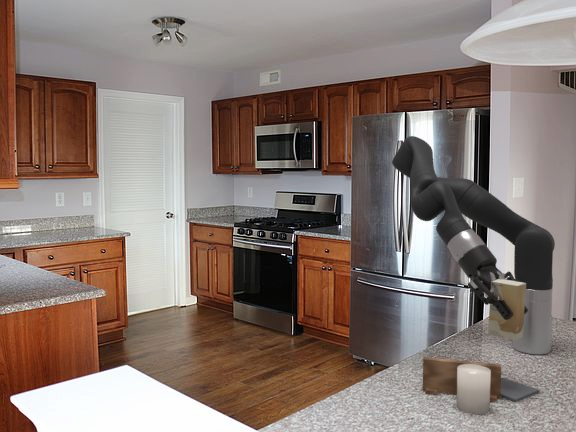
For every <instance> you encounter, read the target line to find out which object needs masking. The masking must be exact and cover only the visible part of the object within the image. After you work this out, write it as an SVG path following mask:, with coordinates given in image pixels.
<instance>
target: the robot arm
mask: <svg viewBox="0 0 576 432" xmlns="http://www.w3.org/2000/svg"><path fill="white" fill-rule="evenodd" d="M434 162H435V161H434V153H433V148H432V147H431V145H430V144H429V143H428V142H426V140H424V139H422V138H421V137H418V136H414V135H410V136H408V137H406V138H405V139H404V140H403V141H402V144H401V145H400V147H399V148H398V149H397V152H396V153H395V155H394V156H393V158H392V161H391V164H392V166H393V167H394V168H395V169H396V170H397V171H398V172H399V173H401V174H403V175H404V176H405V177H407V178H409V180H410V181H409V182H410V185H411V188H412V192H411V193H412V194H411V197H410V205H411V210H412V212H413V214H414V215H415V217H417V218H418V219H419V220H420V221H423V222H431V221H433V220H434V219H436V218H437V217H438V216H439V215H441V214H442V213H443V212H444V214H443V216H442V217H441V218H440V219H439V221H438V223H437V225H436V227H435V229H436V230H435V231H436V232H437V234H438V235H439V237H440V238H441V240H442V241H443V243H444V244H445V246H446V247H447V248H448V250H449V252H450V254H451V255H452V257H453V258H454V260H455V261H456V263H457V264H458V265H459V267H460V268H461V271H463V273H464V274H465V275H466V277H467V278H468V279H471V280H470V281H469V282H468V283H467V286H468V288H469V289H470V290H471V291H472V292H473V293H474V294H475V295H476V296H477V297H478V298H479V299H480V300H481V302H483V304H484V305H486V306H488V305H490V304H491V305H492V306H495V307H496V309H497V310H498V312H499V313H500V314H501V316H502V317H503V318H504V319H505V320H508V319H510V318H511V317H512V316H513V312H512V311H511V310H510V308H509V307H508V306H507V304H506V303H505V301H504V300H502V298H501V296H500V294H499V293H498V288H497V287H496V286H495V284H494V283H492V286H493V287H492V289H491V281H492V282H493V281H495V280H497V279H504V280H511V281H516V282H523V283H526V295H525V310H524V324H523V337H522V338H520V339H518V340H516V341H513V342H512V346H513V349H514V350H516V351H518V352H521V353H525V354H529V355H546V354H550V352H551V349H552V336H553V334H552V333H553V315H552V312H553V311H552V310H553V306H552V305H553V285H554V283H553V282H554V279H553V257H554V256H553V255H554V253H553V252H554V250H555V244H556V243H555V239H554V236H553V235H552V234H551V232H550V231H548V230H547V229H546V228H544V227H541V226H539V225H537V224H536V223H534V222H532V221H530V220H528V219H526V218H524V217H523V216H521V215H520V214H518V213H516V211H514V210H512V209H511V208H510V207H508V206H507V205H506V204H505V203H503V202H502V201H501V200H500V199H499V198H497V197H496V196H495V195H493V194H492V193H491V192H490V191H488V190H486V189H485V188H484V187H482V186H481V185H479V184H478V183H476V182H474V180H472V179H468V178H463V177H462V178H460V177H438V176H437V174H436V171H435V165H434V164H435V163H434ZM464 217H467V219H469V220H471V221H472V222H475V223H476V224H479V225H481V226H483V227H485V228H487V229H490V230H492V231H494V232H496V233H497V234H499V235H501V236H502V237H503V238H504V239H506V240H507V241H508V242H510V243H511V244H512V245H513V246H514V255H513V257H514V259H513V264H514V265H513V266H514V270H513V272H514V273H513V274H514V275H513V274H512V272H511V271H509V270H508V271H507V272H506V273H503V272H502V270H500V269H499V268H497V261H498V260H497V258H496V256H495V255H494V253H493V252H492V251H491V250H490V249H489V247H488V246H487V244H486V243H485V242H484V241H483V239H482V238H481V237H480V236H479V234H477V233H476V232H475V231H474V230H473V228H472V227H471V225H470V224H469V223H468V222H467V220H466V219H465V218H464ZM493 294H494V295H495V296H494V295H493ZM501 300H502V301H501Z"/></svg>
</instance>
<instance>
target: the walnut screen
mask: <svg viewBox="0 0 576 432" xmlns="http://www.w3.org/2000/svg"><path fill="white" fill-rule="evenodd" d="M463 364H476V365H481V366H484V367H487V368H489V369H490V370H491V380H490V403H491V402H492V403H498V400H501V398H502V397H501V378H502V365H501V364H498V363H497V364H495V363H486V362H476V361H467V360H458V359H446V358H436V357H426V356H423V358H422V391H424V392H425V395H432V396H433V395H434V396H438V393H443V394H450V395H457V367H458V366H459V365H463Z"/></svg>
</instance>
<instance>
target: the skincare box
mask: <svg viewBox="0 0 576 432" xmlns="http://www.w3.org/2000/svg"><path fill="white" fill-rule="evenodd" d="M492 283H494V284H495V286H496V287H497V288H498V293H499V294H500V296H501V298H502V300H504V301H505V303H506V304H507V306H508V307H509V308H510V310H511V311H512V312H513V316H512V317H511V318H510V319H508V320H505V319H504V318H503V317H502V316H501V314H500V313H499V312H498V310H497V309H496V307H495V306H492V305H491V304H489V309H488V311H489V312H488V327H487V335H489V336H493V337H497V338H501V339H505V340H509V341H516V340H518V339H520V338H522V337H523V324H524V310H525V295H526V283H523V282H516V281H511V280H504V279H497V280H495V281H493V282H492V281H491V289H492V287H493V286H492ZM493 295H494V294H493ZM494 296H495V295H494ZM502 300H501V301H502Z"/></svg>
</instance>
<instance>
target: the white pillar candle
mask: <svg viewBox="0 0 576 432" xmlns="http://www.w3.org/2000/svg"><path fill="white" fill-rule="evenodd" d="M490 380H491V370H490V369H489V368H487V367H484V366H481V365H476V364H463V365H459V366H458V367H457V394H456V408H457V409H458V410H459V411H460V412H462V413H466V414H470V415H476V416H478V415H479V416H480V415H486V414H488V413H489V412H490V411H491V410H490V409H491V408H490V407H491V402H490Z"/></svg>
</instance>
